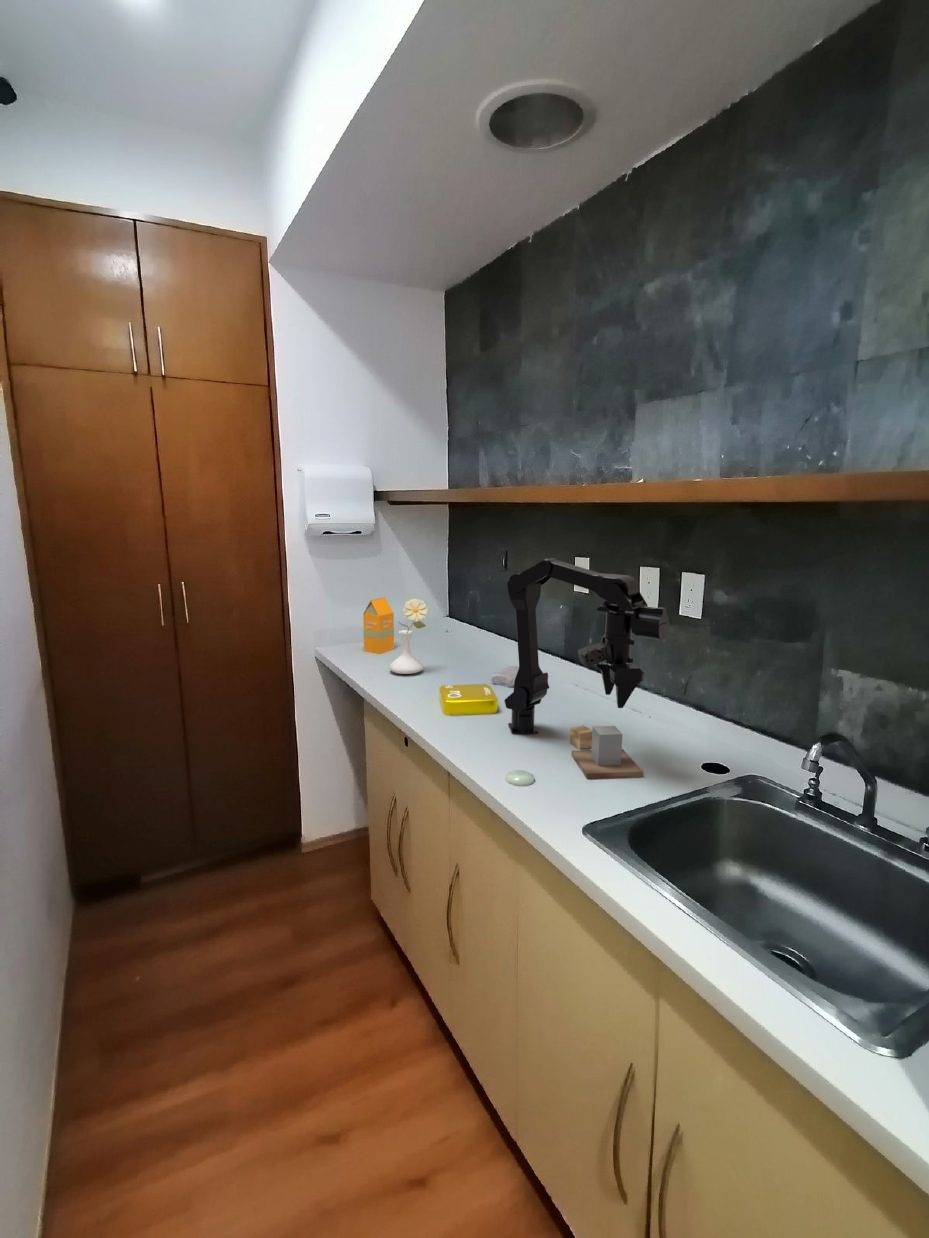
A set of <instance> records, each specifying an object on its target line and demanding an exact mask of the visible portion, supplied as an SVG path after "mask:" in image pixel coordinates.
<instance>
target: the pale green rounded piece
mask: <svg viewBox="0 0 929 1238" xmlns="http://www.w3.org/2000/svg"><path fill="white" fill-rule="evenodd" d="M504 776H505V777H504V780H505V782H506V783H508V784H510V785H512V786H518V787H519V786H520V787H525V786H526V787H527V786H529V785H532V784H533V783H534V782H535V775H534V774H533V773H532V772H530V771H527V770H521V769H520V770H519V769H518V770H514V769H513V770H511V771H508V772H506V773H505V775H504Z"/></svg>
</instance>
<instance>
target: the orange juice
mask: <svg viewBox="0 0 929 1238" xmlns="http://www.w3.org/2000/svg"><path fill="white" fill-rule="evenodd" d="M362 617H363V618H362V620H363V630H362V631H363V652H365V653H371V654H375V655H381V654H384V653H388V652H390V651H394V650H395V638H394V637H395V627H394V625H395V623H394V621H395V619H394V611H393V609H392V608H391V606H390V604H389V602H388V600H387V598H386V597H381V598H380V597H379V598H375V599H371V600H370V601H369V603H368V605H367V606H366V608H365V610H364V612H363V615H362Z"/></svg>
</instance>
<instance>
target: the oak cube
mask: <svg viewBox="0 0 929 1238" xmlns="http://www.w3.org/2000/svg"><path fill="white" fill-rule="evenodd" d="M592 729H593V728H590V727H587V726H585V725H580V726H574V727H569V743H568V744H570V745H571V746H573V747H574V748H576V749H577V750H585V749H589V748H592Z"/></svg>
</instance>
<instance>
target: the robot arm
mask: <svg viewBox="0 0 929 1238" xmlns="http://www.w3.org/2000/svg"><path fill="white" fill-rule="evenodd" d="M551 579H555V580H558V581H561V582H564V583H568V584H570V585H573V586H577V587H580V588H583V589H586V590H589V591H590V592H593V593H595V595H596V596H598V597H599V598H601V599H602V600H603V603H602V604H600V606H598V607H597V608H596V610H597V612H601V613H605V629H604V634H603V635H602V636H601V637H600V641H599V642H597V643H593V644H591V645H587V646H584V647H581V648H579V649H578V650H577V654H578V657H579V660H580V664H581V665H582V666H583V667H584V668H586V669H587V668H591V667H593V666H596V667H597V669H599V671H600V673H601V674H600V675H601V678H602V679H601V680H602V683H603V688H604V692H605V695H606V696H609V695H611V693H612V691H613V690H614V687H615V692H616V693H615V696H616V705H617V707H616V708H618V709H623V708H624V706H625V705H626V703H627V702H628V700H629V698H630V697H631V695H632V693H633V692H634V690H635V689H636V688H637V686H638V685H640V684H641V683H642V682H644V674H645V673H644V671H643V670H642V669H641V668H640V667H639V666H638V665H636V664H635V663H634V657H632V656H631V649H632V646H633V645H634V646H635V639H633V638H632V635H633V634H634V635H635V636H636V637H639V638H645V639H652V640H659V641H665V640H666V638H667V637H668V633H669V631H670V630H669V629H670V623H671V622H670V620H669V615H668V614H667V607H659V606H658V607H656V606H655V607H653V606H648V603H647V601H646V599H645V598H644V597H643V595H642V593H641V590H640V589H639V588H640V587H639V584H638V582H637V579H636V578H635V577H633V576H631V575H627V574H626V575H625V574H617V573H601V572H597V571H594V570H591V569H587V568H584V567H582V566H581V567H580V566H578V565H575V564H571V563H567V562H565V561H562V560H559V559H557V558H556V557H555V558H554V557H551V558H545V559H542V560H540V562H538V563H536V564H535V565H532V566H531V567H529V568H527V569H525V570H524V571H521V572H519V573H516V574H513V575H510V577H509V578H508V579H507V582H506V590H507V594H508V600H509V602H510V603H511V605H512V606H513V608H514V610H515V622H516V623H515V624H516V639H517V653H518V655H517V656H518V667H519V669H518V672H517V675H516V677H515V680H514V687H513V692H511V694H509V695H508V696H507V697H506V698H505V699H504V704H505V708H506V709H508V710H511V722H508V724H507V726H508V728H509V729H510V732H511V734H513V735H517V734H522V735H524V734H538V728H536V726H535V711H536V710H535V709H536V708H535V706H537V705H539V704H541V702H542V699H544V698H545V696H547V694H548V690H549V689H550V686H549V674H548V672H543V671H542V669H541V667H540V664H539V663H540V662H539V646H538V645H539V644H538V643H539V642H538V627H537V626H538V625H537V610H536V609H537V605H538V603H539V601H540V598H541V592H542V586H544V585H545V584H547V583H548V582H549V581H550V580H551Z"/></svg>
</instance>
